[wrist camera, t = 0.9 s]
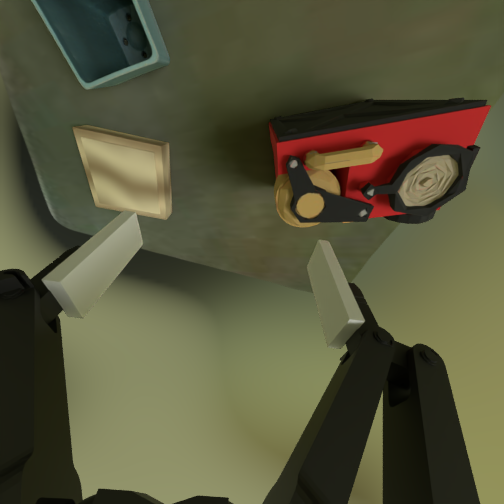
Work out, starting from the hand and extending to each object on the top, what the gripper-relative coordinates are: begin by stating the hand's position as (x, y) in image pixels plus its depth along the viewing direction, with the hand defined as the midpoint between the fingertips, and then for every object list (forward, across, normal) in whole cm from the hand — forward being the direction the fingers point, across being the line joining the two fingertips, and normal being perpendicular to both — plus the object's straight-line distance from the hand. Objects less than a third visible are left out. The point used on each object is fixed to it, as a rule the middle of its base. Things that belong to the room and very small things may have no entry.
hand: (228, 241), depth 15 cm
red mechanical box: (+23, +11, +4) cm, 25 cm away
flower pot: (+23, -15, +12) cm, 30 cm away
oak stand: (+22, -19, -5) cm, 29 cm away
